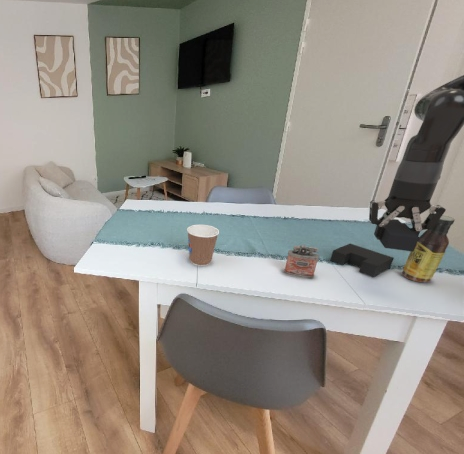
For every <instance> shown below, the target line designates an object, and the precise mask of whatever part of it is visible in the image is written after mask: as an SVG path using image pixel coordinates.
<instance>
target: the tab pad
mask: <svg viewBox="0 0 464 454" xmlns="http://www.w3.org/2000/svg"><path fill="white" fill-rule="evenodd" d="M380 218H381V217H379V218H378V219H380ZM410 228H411V227H409V226H408V225H407V224H406V222H401V221H400V220H399V219H397V218H394V219H393V220H392V221H390V222H389V223H388V224H387V225H386V226H385V230H384V233H383V236H382V239H381V240H379V241H380V243H381V245H382V246H383V248H384V249H390V250H396V251H397V250H399V251H404V252H411V251H412V252H414V249H415V247H416V244H417V242H418V239H419V237H420V236H417V235H416V234H415V233H414V232H413V231H412V230H411V229H410Z"/></svg>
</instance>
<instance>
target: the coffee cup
mask: <svg viewBox="0 0 464 454" xmlns="http://www.w3.org/2000/svg"><path fill="white" fill-rule="evenodd" d="M186 232H187V239H188V240H187V241H188V242H187V243H188V257H189V261H190V263H191V264H193V265H194V266H198V267H206V266H209V265H210V264H211V262H212V260H213V255H214V252H215V247H216V244H217V239H218V235H219V234H220V230H219V229H218V228H217V227H216V226H212V225H210V224H209V225H208V224H193V225H190V226H188V227H187V228H186Z"/></svg>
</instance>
